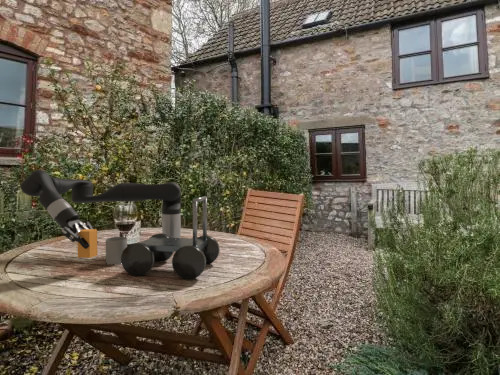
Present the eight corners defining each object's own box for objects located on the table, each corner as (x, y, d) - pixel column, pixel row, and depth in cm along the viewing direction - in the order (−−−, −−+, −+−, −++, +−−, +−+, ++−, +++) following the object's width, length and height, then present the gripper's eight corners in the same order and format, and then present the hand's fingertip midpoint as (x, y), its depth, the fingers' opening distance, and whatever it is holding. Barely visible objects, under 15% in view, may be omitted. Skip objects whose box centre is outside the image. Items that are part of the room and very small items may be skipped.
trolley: (121, 275, 120) (120, 197, 119) (148, 259, 141) (148, 194, 140) (204, 280, 115) (204, 199, 113) (219, 264, 136) (219, 195, 134)
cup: (110, 259, 141) (109, 237, 141) (129, 259, 142) (129, 236, 141) (103, 265, 133) (102, 241, 132) (123, 264, 133) (123, 240, 133)
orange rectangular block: (77, 257, 122) (77, 231, 121) (85, 254, 126) (85, 228, 126) (89, 257, 121) (89, 231, 120) (97, 254, 125) (96, 229, 125)
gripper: (70, 217, 132) (98, 248, 130) (42, 222, 118) (72, 257, 116) (82, 204, 131) (109, 235, 129) (54, 208, 117) (85, 243, 115)
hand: (92, 245), depth 123 cm, fingers closed on orange rectangular block, 4 cm apart
